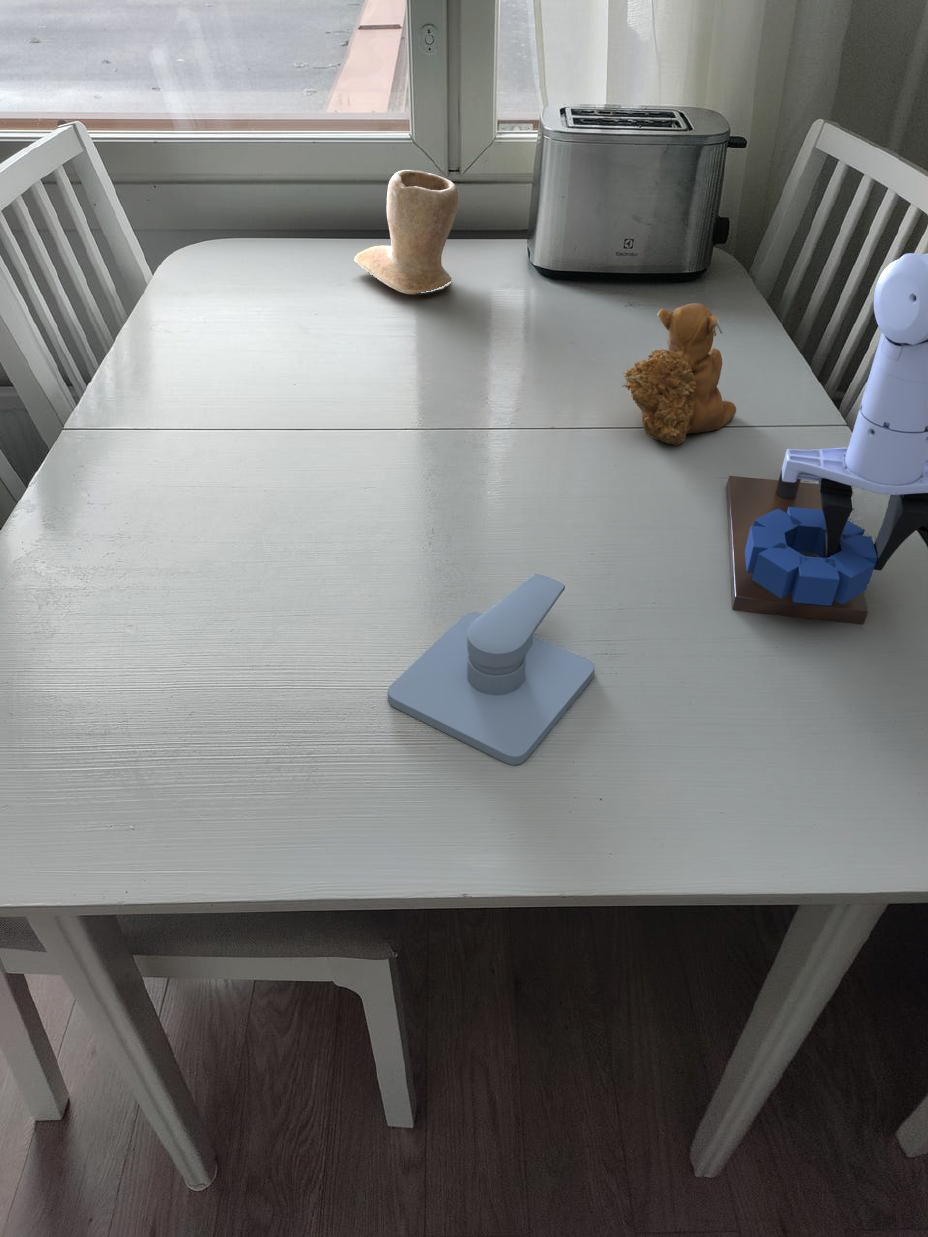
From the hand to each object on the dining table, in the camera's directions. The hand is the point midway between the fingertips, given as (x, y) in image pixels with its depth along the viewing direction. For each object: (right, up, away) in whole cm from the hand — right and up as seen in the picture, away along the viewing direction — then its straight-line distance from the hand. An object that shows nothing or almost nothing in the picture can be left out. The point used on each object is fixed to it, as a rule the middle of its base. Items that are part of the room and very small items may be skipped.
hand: (852, 560), depth 81 cm
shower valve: (-30, -10, -4) cm, 31 cm away
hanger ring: (-3, -1, +1) cm, 4 cm away
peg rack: (-2, +2, +9) cm, 10 cm away
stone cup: (-40, +45, +61) cm, 86 cm away
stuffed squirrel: (-9, +17, +28) cm, 33 cm away
